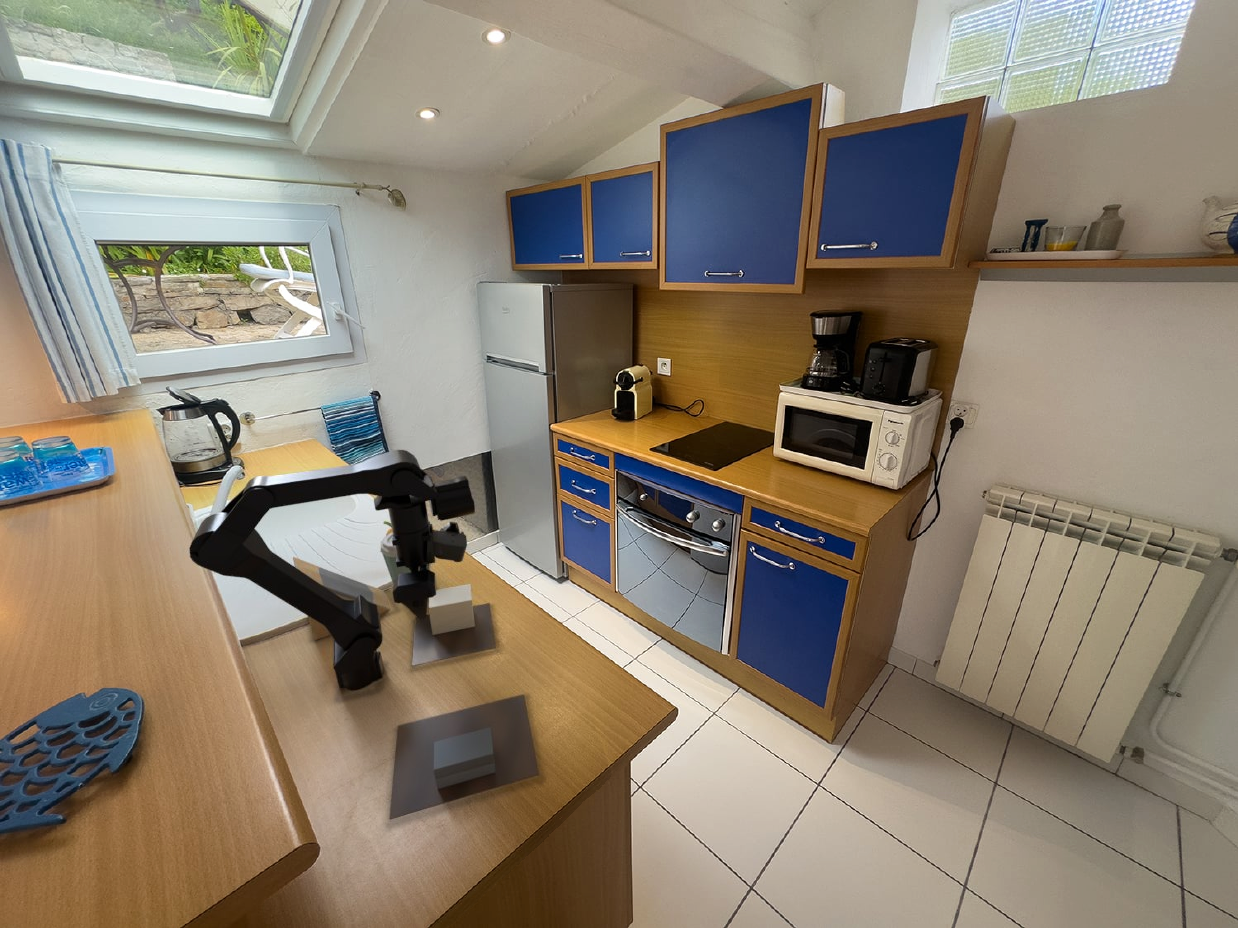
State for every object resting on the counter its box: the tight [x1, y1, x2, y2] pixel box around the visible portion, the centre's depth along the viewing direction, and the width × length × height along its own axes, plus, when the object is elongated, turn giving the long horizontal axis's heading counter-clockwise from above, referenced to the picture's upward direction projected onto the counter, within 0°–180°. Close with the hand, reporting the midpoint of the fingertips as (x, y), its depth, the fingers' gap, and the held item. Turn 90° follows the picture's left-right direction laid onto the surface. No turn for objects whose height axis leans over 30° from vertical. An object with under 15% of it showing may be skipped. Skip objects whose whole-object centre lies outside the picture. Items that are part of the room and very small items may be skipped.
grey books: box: [434, 728, 495, 789], centre depth 71 cm, size 8×4×4 cm, turn 109°
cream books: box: [430, 609, 475, 635], centre depth 100 cm, size 8×6×4 cm
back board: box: [411, 602, 497, 667], centre depth 98 cm, size 15×14×1 cm
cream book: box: [428, 583, 474, 617], centre depth 99 cm, size 8×6×2 cm
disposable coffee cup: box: [380, 532, 432, 584], centre depth 108 cm, size 11×11×15 cm
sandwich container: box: [292, 556, 391, 641], centre depth 101 cm, size 9×15×15 cm, turn 126°
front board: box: [389, 694, 540, 820], centre depth 75 cm, size 20×15×1 cm
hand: (423, 601), depth 88 cm, fingers open, 9 cm apart
